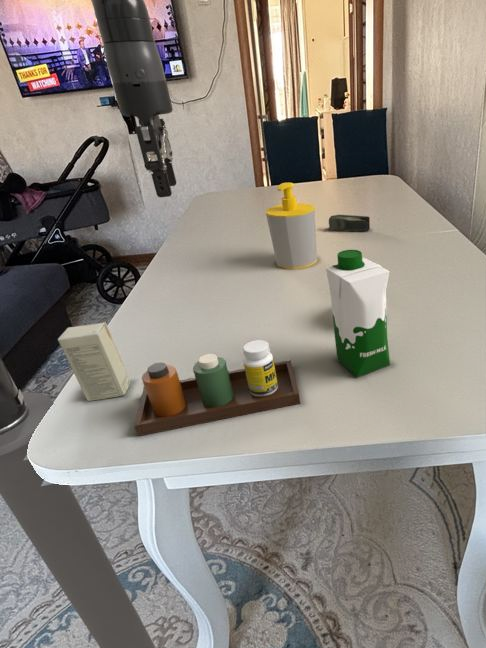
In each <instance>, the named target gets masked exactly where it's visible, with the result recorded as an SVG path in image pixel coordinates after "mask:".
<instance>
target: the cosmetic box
mask: <svg viewBox="0 0 486 648" xmlns="http://www.w3.org/2000/svg"><path fill="white" fill-rule="evenodd" d="M57 341H58V344H59V345H60V347H61V349H62V351H63V354H64V356H65V358H66V360H67V362H68V364H69V366H70V368H71V370H72V372H73V374H74V376H75V378H76V380H77V382H78V384H79V386H80V388H81V391H82V392H83V395H84V396H85V398H86V400H87V401H88V402H90V401H92V402H93V401H99V400H104V399H111V398H116V397H123V396H125V395H126V393H127V391H128V389H129V387H130V384H131V379H130V377H129V375H128V372H127V370H126V367H125V365H124V362H123V360H122V358H121V356H120V353H119V350H118V348H117V346H116V343H115V341H114V339H113V337H112V334H111V332H110V329H109V327H108V325H107V322H106V321H105V322H98V323H90V324H83V325H76V326H69V327H67V328H66V329H65V330H64V331H63V333H62V334H61V335H60V336H59V337H58V338H57Z"/></svg>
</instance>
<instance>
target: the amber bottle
mask: <svg viewBox="0 0 486 648" xmlns="http://www.w3.org/2000/svg"><path fill="white" fill-rule="evenodd" d="M180 380H181V379H180V378H179V374H178V371H177V368H176V367H175V366H173V365H170V364H167V363H166V362H155V363H152V364H151V365H148V367H147V369H146V371H145V372H144V373H143V374H142V376H141V381H142V384H143V387H145V389H146V392H147V394H148V397H149V400H150V403H151V406H152V408H153V411H154V413H155V415H157V416H159V417H168V416H173V415H175V414H178V413H179V412H181V411H182V410H183V409H184V408H185V407H186V400H185V396H184V393H183V390H182V387H181V383H180Z"/></svg>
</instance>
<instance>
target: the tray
mask: <svg viewBox="0 0 486 648" xmlns="http://www.w3.org/2000/svg"><path fill="white" fill-rule="evenodd" d="M274 366H275V372H276V378H277V383H278V388H277V390H276V391H275V392H274V393H273V394H271V395H268V396H264V397H257V396H254V395H252V394H251V393H250V391H249V386H248V381H247V377H246V372H245V368H240V369H235V370H228V373H229V377H230V381H231V385H232V389H233V393H234V396H233V399H232V400H231V401H230V402H229V403H227V404H225V405H223V406H219V407H208V406H205V405H204V404H203V402H202V398H201V395H200V391H199V388H198V385H197V381H196V378H195V377H192V378H185V379H179V380H180V383H181V387H182V390H183V393H184V396H185V400H186V407H185V408H184V409H183V410H182V411H181V412H179V413H178V414H175V415H173V416H168V417H159V416H157V415H155V413H154V411H153V408H152V406H151V403H150V400H149V397H148V394H147V392H146V389H145V386H143V389H142V393H141V396H140V400H139V405H138V410H137V414H136V417H135V421H134V429H135V432H136V435H137V436H138V437H140V436H141V437H142V436H147V435H151V434H157V433H162V432H167V431H171V430H175V429H181V428H186V427H192V426H195V425H201V424H205V423H206V424H207V423H211V422H216V421H221V420H226V419H230V418H235V417H239V416H246V415H250V414H256V413H260V412H264V411H271V410H275V409H280V408H284V407H289V406H290V407H291V406H295V405H300V404H301V398H300V392H299V388H298V384H297V380H296V377H295V376H296V375H295V372H294V368H293V364H292V361H291V359H290V360H283V361H278V362H274Z"/></svg>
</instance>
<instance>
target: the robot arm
mask: <svg viewBox="0 0 486 648" xmlns="http://www.w3.org/2000/svg"><path fill="white" fill-rule="evenodd" d="M90 1H91V4H92V7H93V13H94V16H95V21H96V24H97V28H98V31H99V35H100V38H101V42H102V44H103V45H102V46H103V50H104V55H105V61H106V66H107V70H108V73H109V77H110V81H111V84H112V87H113V91H114V94H115V98H116V101H117V105H118V108H119V112H120V114H121V115H122V116H124V117H128V118H129V117H136V118H137V119H138V126H135V127H134V131H135V132H134V133H136V138H137V140H138V145H139V148H140V151H141V155H142V156H141V157H142V159H143V163H144V164H143V165H144V168H145V170H146V171H148V173H150V175H151V179H152V182H153V186H154V190H155V193H156V196H157V197H158V198H168V197H171V196H172V194H173V191H172V188H171V187H175V186H176V185H177V179H176V174H175V171H174V167H173V151H172V147H171V146H172V145H171V142H170V140H169V132H168V128H167V126H166V125H165V124H166V121H165V120H164V118H160V116H159V115H169V114H171V113H172V112H173V104H172V101H171V96H170V92H169V87H168V83H167V79H166V73H165V70H164V66H163V62H162V59H161V55H160V53H159V49H158V47H157V43H156V40H155V35H154V32H153V27H152V23H151V18H150V14H149V10H148V8H147V5H146V2H145V1H144V0H90ZM22 393H23V392H22V391H21V388H20V389H18V387H17V386H16V383H15V382H14V380H13V378H12V376H11V374H10V373H9V370H8V368H7V366H6V365H5V363H4V361H3V359H2V358H1V356H0V435H1V434H3V433H6V432H8V431H10V430H11V429H13V428H15V427H16V426H18V425H19V424H20V423H22V422H23V421H24V420H25V419H26V417H27V416H28V414H29V409H28V407H27V405H26V403H25V402H24V400H23V397H24V396H23V394H22Z"/></svg>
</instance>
